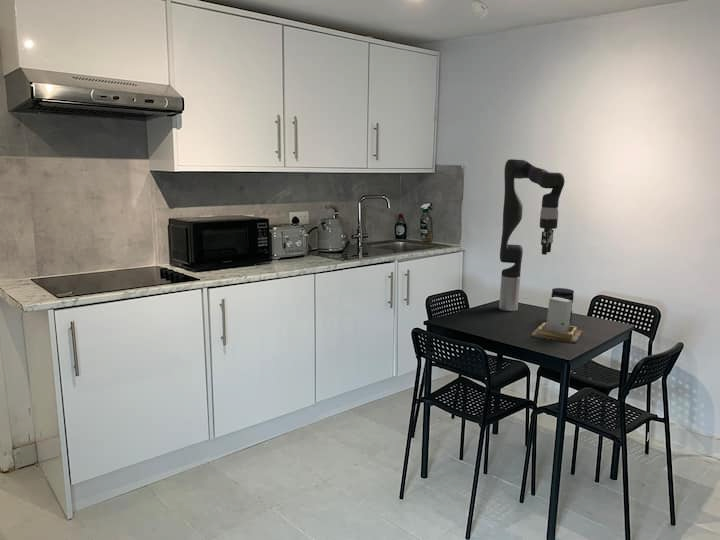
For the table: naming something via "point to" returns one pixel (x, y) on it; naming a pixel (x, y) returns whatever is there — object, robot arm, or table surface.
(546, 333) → the plate
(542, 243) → the robot arm
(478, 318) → the table surface
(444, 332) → the table surface
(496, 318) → the table surface
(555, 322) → the skincare box
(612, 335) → the table surface
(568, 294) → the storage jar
